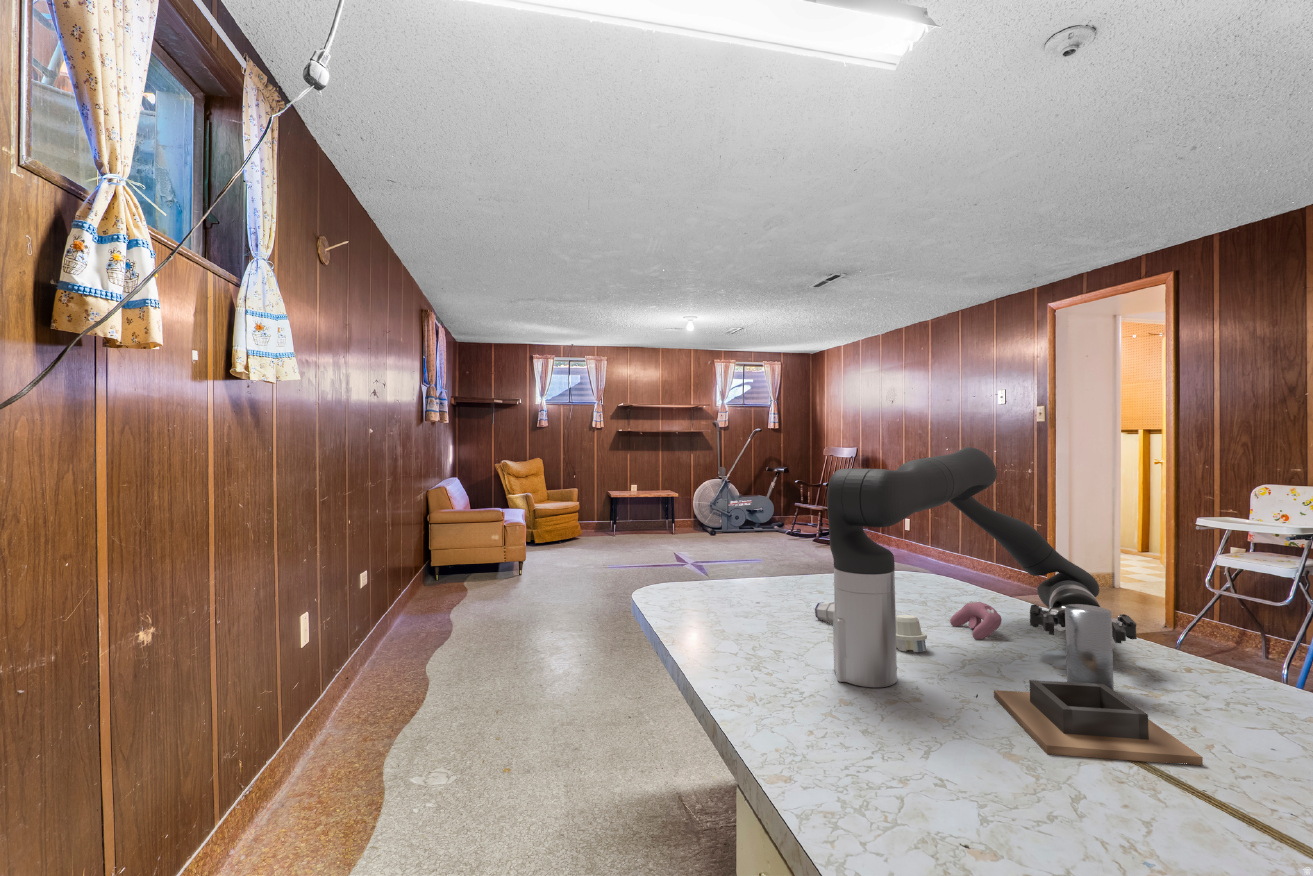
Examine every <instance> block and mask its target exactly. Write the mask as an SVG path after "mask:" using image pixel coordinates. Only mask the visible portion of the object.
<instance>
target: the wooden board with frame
mask: <svg viewBox="0 0 1313 876" xmlns="http://www.w3.org/2000/svg"><path fill="white" fill-rule="evenodd" d="M993 698H994V699H995V700H996V701H997V702H998V703H999V704H1000V705H1001V706H1002V708H1003V709H1005V710H1006V712H1007V713H1008V714H1009V715H1010V716H1011V717H1012V718H1013V719H1014V720H1015V722H1017V723H1018V724H1019V725H1020V727H1021V728H1022V729H1023V730H1024V731H1025V732H1026V734H1028V735H1029V736H1030V737H1031V739H1033V740H1034V741H1035V743H1036V744H1037V745H1038V746H1039V747H1040V748H1041V749H1042V751H1044V752H1045V754H1046V755H1055V756H1071V757H1084V758H1095V759H1096V758H1097V759H1109V760H1121V761H1122V760H1123V761H1137V762H1149V763H1162V764H1163V763H1164V764H1173V763H1183V764H1182V765H1186V763H1187V764H1191V765H1190V766H1199V765H1203V766H1204V764H1203V763H1204V762H1203V760H1204V758H1203V756H1202V755H1201V754H1199V753H1198V752H1197V751H1195V750H1193V749H1192V748H1191V747H1189V746H1188V745H1186V744H1185V743H1183V742H1182V741H1180V740H1179V739H1178V738H1177V737H1175V736H1173V735H1172V734H1170V733H1169V732H1168V731H1166V730H1165V729H1163V728H1162V727H1160V726H1159V725H1157V724H1156V723H1155V722H1153V721H1152V720H1150V719H1149V714H1148V713H1146V712H1145V711H1144V710H1142V709H1141V708H1139V707H1138V706H1136V704H1133V703H1132V702H1130V701H1129V700H1127V699H1126V698H1125V697H1123V696H1121V695H1120V694H1119V693H1117V692H1116V691H1115V690H1114V691H1113V690H1112V689H1110V688H1109V687H1107V686H1106V685H1104V684H1093V683H1075V682H1067V681H1058V680H1057V681H1055V680H1054V681H1053V680H1037V679H1036V680H1035V679H1034V680H1033V679H1030V680H1029V691H1016V690H1015V691H1012V690H1001V689H1000V690H997V689H996V690H995V689H993ZM1166 762H1167V763H1166ZM1184 763H1185V764H1184ZM1192 764H1193V765H1192Z"/></svg>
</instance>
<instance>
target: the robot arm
mask: <svg viewBox="0 0 1313 876" xmlns="http://www.w3.org/2000/svg"><path fill="white" fill-rule="evenodd" d="M997 476H998V473H997V468H996V465H995V462H994V460H993V459H992V458H991V457H990V456H989V455H988V454H987V453H985V452H984V451H982V450H980V449H978V448H977V447H973V446H971V447H970V446H967V447H964V448H961V449H959V450H957V451H956V452H954V453H950V454H944V455H937V456H936V455H935V456H931V457H922V458H917V459H913V460H910V461H909V460H908V461H906V462H903V464H901V465H900V466H899V467H898V468H896V470H893V469H884V468H840V469H838V470H836V471H834V472H833V474H832V475H831V477H830V479H829V481H828V485H827V492H826V504H827V505H826V507H827V508H826V509H827V518H828V519H827V521H828V532H829V533H828V535H829V537H828V538H829V547H830V552H831V554H832V559H833V589H834V590H833V591H834V592H833V594H834V595H833V596H834V599H833V600H834V601H833V602H834V605H835V610H834V611H833V624H832V633H833V635H832V636H833V637H832V638H833V670H834V672H835V675H836V679H837V681H838V682H841V683H849V684H851V685H855V686H859V687H865V688H884V687H885V688H886V687H889V686H892V685H894V684H895V683H897V682H898V664H897V661H898V660H897V648H896V616H897V615H896V579H895V578H896V577H895V576H896V574H895V569H896V568H895V563H896V562H895V556H894V553H893V552H892V551H891V550H890V549H888V548H886V547H884V546H882V545H881V544H878V543H877V542H875V541H874V540H872V539H871V538H870V537H869V536H868V535H867V534H866V533H865V530H864V527H867V528H888V527H892V526H894V525H896V524H898V523H900V522H902V521H903V520H905V519H906V518H908V517H910V516H911V515H912V514H914V513H915V514H916V513H918V512H922V511H923V512H924V511H926V510H931V509H933V508H937V507H939V506H940V507H941V506H942V505H944V504H947V503H948V502H950V503H951V504H952V506H954V507H956V509H957V510H959V511H960V512H961V513H963V514H964V515H965V516H966V517H967V518H968V519H970V520H971V521H972V522H974V524H976V525H977V526H978V527H980V528H981V529H982V530H984V531H985V532H986V534H989V535H990V536H991V537H992V538H993V539H995V541H996V542H998V543H999V544H1000V545H1001V546H1002V547H1003V549H1005V550H1006V552H1008V554H1009V555H1010V556H1011V557H1012V558H1013V559H1014V560H1015V561H1016V562H1017V563H1018V564H1019V566H1020V567H1022V569H1023V570H1024V571H1025V572H1026V573H1027V574H1028V575H1030V576H1033V577H1039V576H1044V575H1049V574H1051V573H1052V574H1053V573H1056V574H1054V575H1053V576H1051V577H1049V578H1047V579H1046V580H1044V581H1042V582H1041V583H1040V584H1039V585H1038V587H1037V595H1038V598H1039V600H1040V601H1041V602H1042V603H1043V604H1044V606H1046V608H1048V610H1044V609H1043V607H1040V606H1039V605H1038V604H1035V603H1034V604H1031V605H1030V609H1029V625H1030V627H1032V628H1039V626H1042V628H1043V631H1044V632H1048V635H1053V636H1054V635H1055V631H1058V632H1062V631H1064V632H1065V633H1066V628H1065V606H1066V605H1070V604H1082V605H1091V606H1097V607H1101V605H1100V603H1099V602H1098V599H1097V598H1096V597H1098V596H1099V595H1100V594H1099V593H1100V585H1099V583H1098V581H1097V580H1096V578H1095V577H1094V576H1093V575H1092V574H1091V573H1090V572H1088V571H1086V570H1085V569H1083V568H1081V567H1080V566H1078V565H1077V564H1075V563H1073V562H1072V561H1070V560H1068V559H1067V558H1065V557H1064V556H1063V555H1061V554H1060V553H1059V552H1058V551H1057V550H1056V549H1055V548H1054V547H1053V546H1052V545H1051V544H1050V543H1049V542H1048V541H1047V540H1046V539H1045V538H1044V537H1043V536H1042V535H1041V533H1040V532H1038V531H1037V529H1035V528H1034V527H1033V526H1031V525H1030V524H1028V523H1026V522H1024V521H1022V520H1020V519H1018V518H1015V517H1014V516H1013V517H1012V516H1010V515H1007V514H1004V513H1001V512H998V511H996V510H994V509H993V508H990V507H988V506H986V505H984V504H982V503H981V502H979V501H978V500H977V499H976V498H975V497H974V496H975V495H977V494H979V493H981V492H982V491H984V490H986V489H988V488H989V487H991V486H992V485H993V484H994V483H995V482H996V479H997ZM1127 639H1130V640H1132V641H1133V640H1138V636H1137V623H1136V622H1135V621H1134V619H1132V617H1130V616H1129V615H1127V614H1125V613H1124V614H1119V615H1117V618H1115V617H1114V618H1113V617H1112V640H1113V641H1114V643H1115V644H1122V642H1126V641H1127Z"/></svg>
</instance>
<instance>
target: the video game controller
mask: <svg viewBox="0 0 1313 876" xmlns="http://www.w3.org/2000/svg"><path fill="white" fill-rule="evenodd" d="M1002 621H1003V620H1002V615H1001V614H1000V613H998V611H997V610H996V609H995V608H994V607H993V606H991V605H989V604H987V603H984V602H982V601H976V602H974V601H972V600H969V602H967V603H965V604H964V605H963V606H962V608H960V609H959V610H958V611H956V612H954V614H953V615H952V616H951V617H950V621H949V622H950V625H951V626H953V627H960V626H963V625H965V624H967V623H968V628H970V629H972V634H971V635H972V637H973V639H975V640H979V641H980V640H984V639H987V638H988V637H989V636H991V635H992V634H994V632H995V631H996V630H997V629H999V627H1000V626H1001V624H1002Z"/></svg>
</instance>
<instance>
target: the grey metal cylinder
mask: <svg viewBox="0 0 1313 876" xmlns="http://www.w3.org/2000/svg"><path fill="white" fill-rule="evenodd" d="M1112 616H1113V615H1112V611H1111V610H1110V609H1108V608H1104V607H1101V606H1100V607H1097V606H1091V605H1082V604H1070V605H1066V606H1065V628H1066V632H1065V653H1066V655H1065V657H1066V662H1065V663H1066V682H1075V683H1093V684H1104V685H1106V686H1107V687H1109V688H1110V689H1112V690H1113V691H1115V690H1114V689H1115V687H1114V686H1115V685H1114V684H1115V683H1114V655H1113V654H1114V653H1113V650H1114V649H1113V637H1112V618H1113V617H1112Z"/></svg>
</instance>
